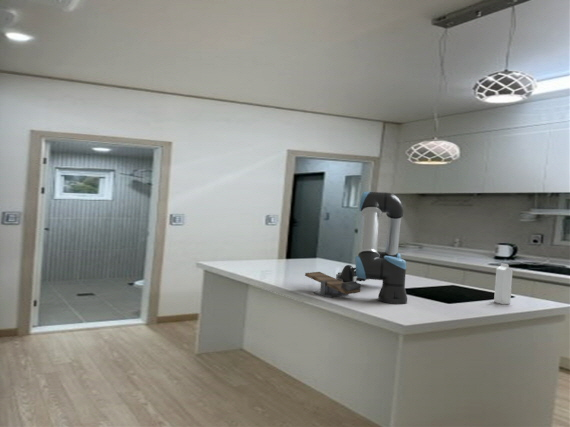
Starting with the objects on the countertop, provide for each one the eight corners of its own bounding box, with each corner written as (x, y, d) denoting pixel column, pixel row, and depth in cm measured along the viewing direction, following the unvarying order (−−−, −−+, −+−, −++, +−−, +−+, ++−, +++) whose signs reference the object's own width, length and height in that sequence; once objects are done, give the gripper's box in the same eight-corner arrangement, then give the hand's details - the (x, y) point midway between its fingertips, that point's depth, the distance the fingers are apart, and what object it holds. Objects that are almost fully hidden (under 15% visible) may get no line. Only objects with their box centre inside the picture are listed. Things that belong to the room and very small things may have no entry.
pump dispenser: (351, 293, 266) (352, 266, 266) (335, 290, 272) (336, 264, 272) (359, 291, 274) (361, 265, 274) (344, 288, 280) (345, 263, 280)
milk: (501, 304, 262) (504, 264, 261) (493, 301, 267) (496, 262, 267) (510, 304, 263) (513, 264, 263) (502, 301, 269) (505, 262, 269)
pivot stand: (348, 295, 261) (349, 280, 261) (330, 298, 250) (331, 282, 250) (331, 291, 269) (332, 277, 269) (313, 293, 259) (314, 279, 258)
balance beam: (360, 292, 253) (361, 284, 253) (346, 294, 245) (348, 286, 244) (319, 274, 274) (320, 266, 274) (304, 275, 266) (306, 267, 265)
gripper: (379, 283, 281) (362, 287, 263) (345, 278, 294) (327, 281, 276) (379, 270, 281) (363, 274, 263) (345, 266, 294) (327, 268, 276)
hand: (344, 278), depth 269 cm, fingers open, 10 cm apart
